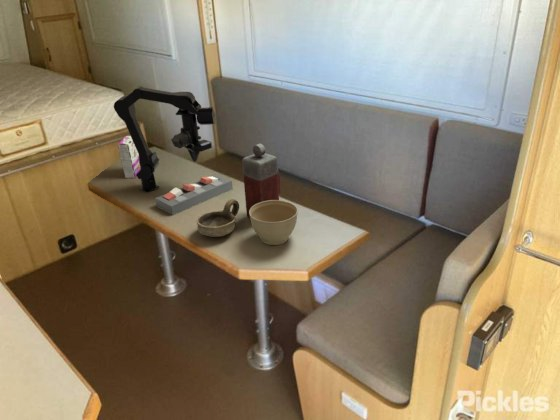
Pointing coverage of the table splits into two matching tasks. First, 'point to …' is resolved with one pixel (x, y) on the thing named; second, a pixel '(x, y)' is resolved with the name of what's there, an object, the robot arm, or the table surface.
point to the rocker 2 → (191, 187)
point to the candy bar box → (129, 157)
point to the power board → (194, 195)
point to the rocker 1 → (173, 194)
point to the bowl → (219, 220)
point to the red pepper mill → (260, 177)
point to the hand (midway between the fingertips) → (194, 161)
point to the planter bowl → (273, 220)
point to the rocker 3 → (208, 180)
